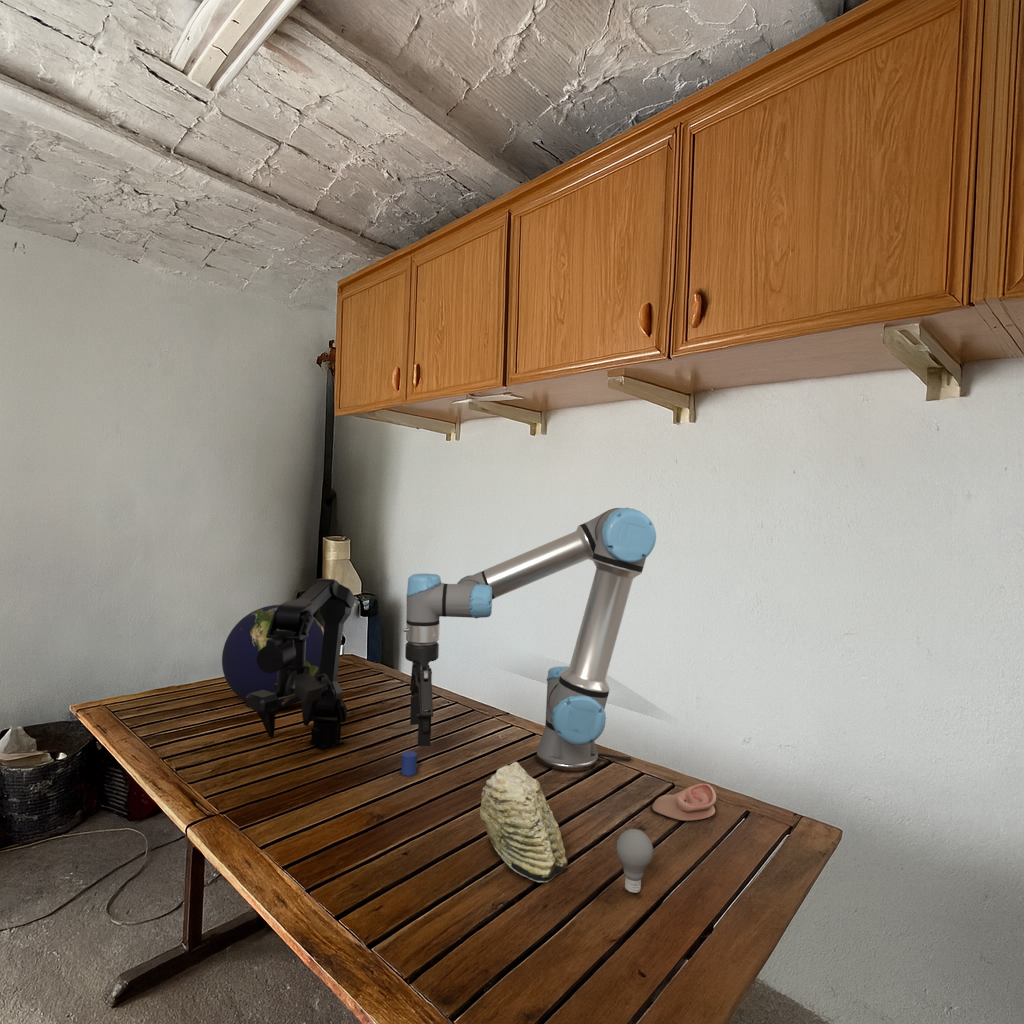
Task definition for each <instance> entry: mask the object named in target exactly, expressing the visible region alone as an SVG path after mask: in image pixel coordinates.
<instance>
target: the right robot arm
mask: <svg viewBox="0 0 1024 1024" xmlns="http://www.w3.org/2000/svg"><path fill="white" fill-rule="evenodd" d="M656 541H657V532H656V528H655V526H654V523H653V521H652V520H651V519H650V518H649V517H648V516H647V515H646V514H645V513H643V512H642V511H641V510H638V509H635V508H630V507H614V508H610V509H608V510H605V511H604V512H602V513H601V514H599V515H597V516H596V517H594V518H592V519H590V520H588V521H585V522H584V523H582V524H579V525H578V526H577V528H576V530H575V531H573V532H570V533H568V534H566V535H563V536H561V537H559V538H556V539H554V540H552V541H550V542H547V543H545V544H542V545H539V546H537V547H535V548H533V549H531V550H528V551H526V552H523V553H520V554H518V555H516V556H514V557H512V558H509V559H507V560H504V561H502V562H500V563H497V564H495V565H492V566H490V567H488V568H485V569H484V570H482V571H479V572H477V573H474V574H469V575H466V576H464V577H462V578H460V580H458V582H456V583H445V582H442V580H441V576H440V575H439V574H437V573H427V572H426V573H422V572H421V573H414V574H411V575H410V576H409V577H408V578H407V589H406V595H405V597H406V613H405V614H406V627H403V632H404V633H405V640H406V642H405V643H406V644H405V651H404V652H405V653H404V654H405V656H404V657H405V659H406V661H409V662H411V663H412V665H411V674H410V685H409V691H410V714H409V715H410V716H409V717H410V718H409V719H410V720H409V725H410V726H414V725H416V726H417V748H419V747H420V748H421V747H431V742H432V741H431V739H432V718H433V717H434V707H433V706H434V705H433V704H434V703H433V682H432V678H433V675H432V674H433V671H432V668H431V665H430V664H429V663H432V662H435V661H437V660H438V659H439V657H440V656H439V655H440V654H439V653H440V652H439V651H440V644H439V642H438V641H439V640H440V628H441V627H440V626H441V624H440V617H443V618H447V617H449V618H470V619H471V618H473V619H479V618H481V619H483V618H489V617H491V616H492V610H493V600H494V599H497V598H499V597H501V596H503V595H506V594H508V593H511V592H513V591H515V590H518V589H520V588H523V587H525V586H527V585H529V584H532V583H534V582H538V581H539V580H542V579H544V578H546V577H549V576H552V575H553V574H557V573H559V572H562V571H563V570H566V569H568V568H570V567H573V566H576V565H577V564H580V563H582V562H584V561H587V560H589V561H592V562H593V564H594V566H595V572H594V576H593V580H592V583H591V587H590V591H589V594H588V598H587V602H586V605H585V608H584V612H583V616H582V619H581V624H580V627H579V630H578V634H577V637H576V642H575V645H574V649H573V653H572V656H571V660H570V663H569V666H567V665H566V666H565V665H564V666H553V667H550V668H549V669H548V671H547V677H546V681H547V683H546V706H545V725H544V730H543V732H542V735H541V737H540V740H539V743H538V745H537V749H536V759H537V761H538V762H539V763H540V764H541V765H543V766H545V767H547V768H549V769H552V770H555V771H562V772H572V773H573V772H575V773H576V772H585V771H589V770H591V769H593V768H595V767H596V766H597V765H598V762H599V759H598V758H599V757H602V758H609V759H615V760H623V761H631V760H632V757H631V756H621V755H616V754H608V753H601V752H598V749H597V745H596V742H595V741H596V740H598V738H600V737H601V735H602V734H603V732H604V730H605V727H606V722H607V721H606V719H607V717H606V711H605V708H606V705H607V701H608V697H609V694H610V690H611V687H610V686H609V684H608V682H607V676H608V672H609V668H610V665H611V661H612V657H613V653H614V650H615V646H616V643H617V639H618V635H619V633H620V629H621V624H622V621H623V617H624V614H625V610H626V606H627V603H628V599H629V596H630V591H631V588H632V584H633V581H634V579H635V578H636V577H638V576H639V575H641V574H643V571H644V567H645V564H646V560H647V557H649V556H650V554H651V553H652V552H653V550H654V548H655V545H656Z"/></svg>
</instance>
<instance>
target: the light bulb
mask: <svg viewBox="0 0 1024 1024" xmlns="http://www.w3.org/2000/svg"><path fill="white" fill-rule="evenodd" d="M615 849H616V854H617V857H618V859H619V861H620V863H621V865H622V867H623V873H624V874H623V875H624V876H625V878H624V888H625V890H627V891H628V892H630V893H634V894H635V893H639V892H640V891H641V889H642V887H641V886H642V879H643V877H644V875H645V871H646V868H647V867H648V866H649V864H650V863H651V861H652V859H653V855H654V847H653V843H652V841H651V838H649V836H648V835H647V834H646V833H645V832H643V831H642V830H641V829H636V828H629V829H627V830H625V831H623V832H622V833H621V834H620V835H619V837H618V839H617V841H616V847H615Z"/></svg>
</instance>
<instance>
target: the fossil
mask: <svg viewBox="0 0 1024 1024" xmlns="http://www.w3.org/2000/svg"><path fill="white" fill-rule="evenodd" d="M479 819H480V820H481V822H482V823H483V827H484V829H485V832H486V833H487V836H488V838H489V840H490V842H491V844H492V845H493V848H494V850H495V852H496V853H497V854H498V856H500V858H501V859H502V861H503V862H504V863H505V864H506V865H507V867H509V868H510V869H511V870H513V871H514V873H517V874H519V875H520V876H522V877H525V878H527V879H528V880H531V881H533V882H536V883H548V882H550V881H552V880H553V879H554V878H555V877H556V876H557V875H560V874H561V873H563V872H564V871H565V870H566V868H567V867H568V866H569V863H568V859H567V856H566V848H565V847H564V841H563V838H562V834H561V831H560V826H559V824H558V822H557V821H556V818H555V817H554V813H553V811H552V810H551V807H550V805H549V803H548V802H547V799H546V796H545V794H544V790H543V789H542V786H541V784H540V781H539V780H537V779H535V778H533V777H532V776H531V775H529V773H528V772H527V771H526V769H524V768H523V766H521V764H520V763H519V762H518V761H513V762H512V763H511V764H509V765H507V764H506V765H504V766H502V767H500V768H498V769H497V770H496V772H495V773H494V774H492V775H491V776H490V778H489V779H487V780H486V782H485V786H483V788H482V792H481V802H480V808H479Z"/></svg>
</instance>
